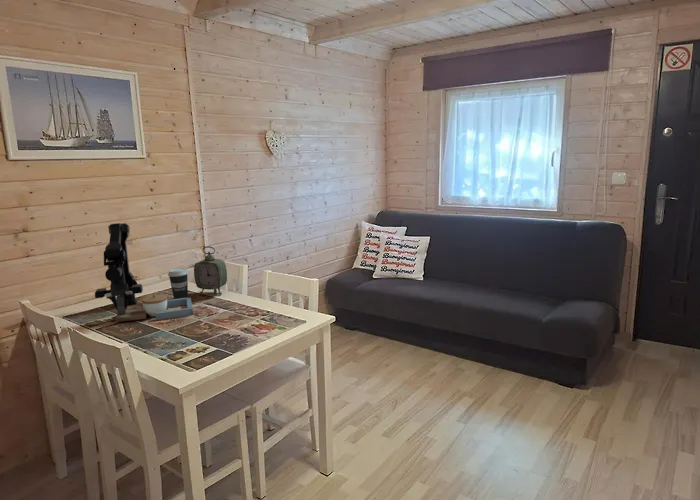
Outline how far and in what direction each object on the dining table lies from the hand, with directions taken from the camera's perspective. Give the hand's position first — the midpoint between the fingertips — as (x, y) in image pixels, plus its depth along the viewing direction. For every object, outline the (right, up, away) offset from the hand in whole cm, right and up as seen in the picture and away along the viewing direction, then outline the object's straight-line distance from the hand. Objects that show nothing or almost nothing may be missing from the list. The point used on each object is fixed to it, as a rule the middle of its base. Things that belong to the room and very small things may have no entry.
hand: (121, 309), depth 211 cm
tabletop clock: (+31, +4, +34) cm, 46 cm away
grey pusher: (+4, -3, +2) cm, 5 cm away
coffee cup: (+17, +2, +27) cm, 32 cm away
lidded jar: (+13, -3, +5) cm, 15 cm away
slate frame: (+21, -2, +8) cm, 22 cm away
